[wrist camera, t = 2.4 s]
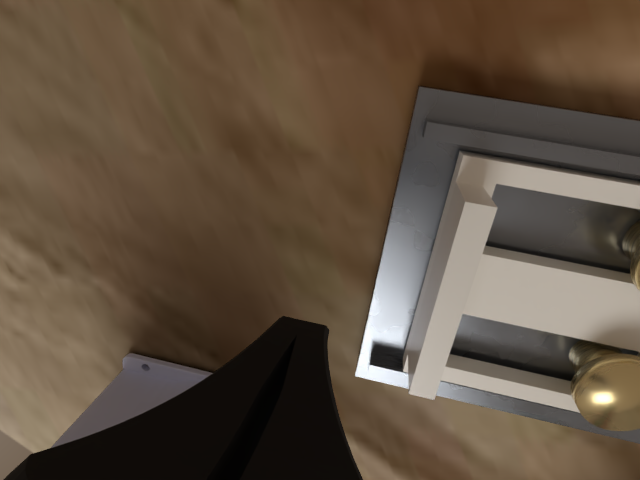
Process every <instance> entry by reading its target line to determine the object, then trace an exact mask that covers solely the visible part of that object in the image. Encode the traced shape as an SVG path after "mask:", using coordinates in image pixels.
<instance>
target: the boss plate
mask: <svg viewBox="0 0 640 480" xmlns="http://www.w3.org/2000/svg"><path fill="white" fill-rule="evenodd" d="M460 151H466V152H472V153H478V154H484V155H490V156H495V157H501V158H507V159H513V160H519V161H525V162H530V163H536V164H542V165H548V166H554V167H560V168H565V169H571V170H577V171H583V172H589V173H595V174H600V175H606V176H612V177H618V178H624V179H630V180H635V181H640V120H635V119H629V118H622V117H616V116H610V115H603V114H597V113H590V112H584V111H578V110H571V109H565V108H558V107H552V106H546V105H539V104H533V103H526V102H520V101H514V100H507V99H501V98H494V97H488V96H482V95H475V94H469V93H462V92H456V91H450V90H443V89H437V88H430V87H424V86H418V89H417V94H416V98H415V103H414V107H413V112H412V116H411V121H410V126H409V130H408V135H407V139H406V144H405V148H404V153H403V157H402V162H401V166H400V171H399V175H398V180H397V184H396V189H395V193H394V198H393V203H392V207H391V212H390V216H389V221H388V225H387V230H386V234H385V239H384V243H383V248H382V252H381V257H380V261H379V266H378V271H377V275H376V280H375V284H374V289H373V293H372V298H371V302H370V307H369V311H368V316H367V320H366V325H365V329H364V334H363V338H362V343H361V348H360V352H359V357H358V361H357V368H356V374H355V376H357V377H361V378H365V379H370V380H374V381H378V382H382V383H386V384H391V385H395V386H399V387H403V388H408V373H407V372H403V355H404V352H405V348H406V345H407V341H408V337H409V334H410V330H411V326H412V323H413V319H414V315H415V312H416V308H417V304H418V301H419V297H420V294H421V290H422V286H423V283H424V279H425V275H426V272H427V268H428V264H429V261H430V257H431V254H432V250H433V246H434V243H435V239H436V235H437V232H438V228H439V224H440V221H441V217H442V214H443V210H444V206H445V203H446V199H447V195H448V192H449V188H450V184H451V181H452V177H453V174H454V170H455V166H456V163H457V159H458V155H459V152H460ZM491 199H492V200H493V202H494V203H495V205H496V206H497V207H498V208H497V211H496V214H495V217H494V220H493V223H492V226H491V229H490V232H489V235H488V238H487V242H486V245H485V246H490V247H495V248H500V249H505V250H510V251H515V252H521V253H526V254H531V255H536V256H541V257H546V258H551V259H556V260H562V261H567V262H572V263H577V264H582V265H587V266H592V267H597V268H602V269H608V270H613V271H618V272H623V273H628V274H631V278H632V281H633V283H634V285H635V286H636V288H637V289H638V290H639V291H640V209H635V208H629V207H624V206H618V205H612V204H607V203H601V202H596V201H590V200H584V199H579V198H573V197H568V196H562V195H556V194H551V193H545V192H540V191H534V190H528V189H523V188H517V187H512V186H506V185H500V184H496V186H495V189H494V192H493V195H492V198H491ZM638 353H639V352H638V351H633V350H629V349H624V348H619V347H615V346H610V345H605V344H601V343H596V342H591V341H587V340H582V339H577V338H573V337H568V336H563V335H559V334H554V333H549V332H545V331H540V330H535V329H531V328H526V327H521V326H517V325H512V324H507V323H503V322H498V321H494V320H489V319H484V318H480V317H475V316H470V315H466V314H462V317H461V320H460V323H459V326H458V329H457V332H456V335H455V339H454V342H453V345H452V348H451V351H450V354H452V355H457V356H461V357H465V358H470V359H474V360H479V361H483V362H488V363H492V364H496V365H501V366H505V367H510V368H514V369H519V370H523V371H527V372H532V373H536V374H541V375H545V376H550V377H554V378H558V379H563V380H567V381H571V385H570V391H571V395H572V398H573V400H574V402H575V404H576V406H577V408H578V410H579V411H580V413H579V412H574V411H570V410H566V409H561V408H557V407H553V406H549V405H544V404H540V403H536V402H531V401H527V400H523V399H519V398H514V397H510V396H506V395H501V394H497V393H493V392H489V391H484V390H480V389H476V388H471V387H467V386H463V385H459V384H454V383H450V382H446V381H440V384H439V387H438V390H437V393H436V395H437V396H441V397H445V398H450V399H454V400H458V401H462V402H467V403H471V404H475V405H479V406H483V407H488V408H492V409H496V410H500V411H504V412H509V413H513V414H517V415H521V416H525V417H530V418H534V419H538V420H542V421H547V422H551V423H555V424H559V425H563V426H568V427H572V428H576V429H580V430H584V431H589V432H593V433H597V434H601V435H605V436H610V437H614V438H618V439H622V440H627V441H631V442H635V443H639V444H640V357H638V356H637V354H638ZM408 389H409V388H408Z"/></svg>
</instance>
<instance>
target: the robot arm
mask: <svg viewBox="0 0 640 480" xmlns="http://www.w3.org/2000/svg"><path fill="white" fill-rule="evenodd" d="M328 335H329V329H328V328H327V326H325V325H321V324H316V323H312V322H307V321H303V320H299V319H294V318H290V317H285V316H283V317H281V318H279V319H278V320H277V321H276V322H275V323H274V324H273V325H272V326H271V327H270V328H269V329H268V330H267V331H266V332H264V333H263V334H262V335H261V336H260V337H259V338H258V339H257V340H255V341H254V342H253V343H252V344H251V345H249V346H248V347H247V348H246V349H244V350H243V351H242V352H241V353H240V354H238V355H237V356H236V357H235V358H233V359H232V360H231V361H229V362H228V363H226V364H225V365H224V366H222V367H221V368H219V369H218V370H217V371H215V372H214V373H211V372H207V371H203V370H199V369H195V368H191V367H186V366H182V365H178V364H174V363H170V362H166V361H162V360H158V359H154V358H150V357H146V356H142V355H138V354H134V353H129V354H127V355H126V356H125V357H124V358H123V370H122V371H121V372H120V373H119V374H118V376H117V377H116V378H115V379H114V380H113V381H112V382H111V383H110V384H109V385H108V386H107V387H106V388H105V390H104V391H103V392H102V393H101V394H100V395H99V396H98V397H97V398H96V399H95V400H94V401H93V403H92V404H91V405H90V406H89V407H88V408H87V409H86V410H85V411H84V412H83V413H82V414H81V415H80V417H79V418H78V419H77V420H76V421H75V422H74V423H73V424H72V425H71V426H70V427H69V428H68V429H67V431H66V432H65V433H64V434H63V435H62V436H61V437H60V438H59V439H58V440H57V441H56V442H55V444H54V445H53V446H52V447H51V448H50V449H47V450H44V451H40V452H37V453H34V454H31V455H29V456H28V457H27V458H26V459H25V460H24V461H23V462H22V463H21V464H20V465H19V466H18V467H16V468H15V469H14V470H13V471H12V472H11V473H10V474H9V475H8V476H7V477H6V478H5V479H4V480H363V479H362V476H361V474H360V472H359V470H358V467H357V465H356V463H355V460H354V458H353V456H352V453H351V450H350V447H349V445H348V442H347V439H346V436H345V433H344V430H343V427H342V424H341V421H340V417H339V414H338V410H337V406H336V402H335V398H334V393H333V389H332V384H331V377H330V371H329V364H328V351H327V341H328ZM147 365H148V366H147Z"/></svg>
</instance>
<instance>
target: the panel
mask: <svg viewBox="0 0 640 480" xmlns="http://www.w3.org/2000/svg"><path fill="white" fill-rule="evenodd" d="M496 184H500V185H506V186H512V187H517V188H523V189H528V190H534V191H540V192H545V193H551V194H556V195H562V196H568V197H573V198H579V199H584V200H590V201H596V202H601V203H607V204H612V205H618V206H624V207H629V208H635V209H640V181H635V180H630V179H624V178H618V177H612V176H606V175H600V174H595V173H589V172H583V171H577V170H571V169H565V168H560V167H554V166H548V165H542V164H536V163H530V162H525V161H519V160H513V159H507V158H501V157H495V156H490V155H484V154H478V153H472V152H466V151H460V152H459V155H458V159H457V163H456V166H455V170H454V174H453V177H452V181H451V184H450V188H449V192H448V195H447V199H446V203H445V206H444V210H443V214H442V217H441V221H440V224H439V228H438V232H437V235H436V239H435V243H434V246H433V250H432V254H431V257H430V261H429V264H428V268H427V272H426V275H425V279H424V283H423V286H422V290H421V294H420V297H419V301H418V304H417V308H416V312H415V315H414V319H413V323H412V326H411V330H410V334H409V337H408V341H407V345H406V348H405V352H404V355H403V372H407V373H408V388H409V394H411V395H415V396H420V397H424V398H428V399H432V400H434V399H435V396H436V393H437V390H438V387H439V384H440V381H446V382H450V383H454V384H459V385H463V386H467V387H471V388H476V389H480V390H484V391H489V392H493V393H497V394H501V395H506V396H510V397H514V398H519V399H523V400H527V401H531V402H536V403H540V404H544V405H549V406H553V407H557V408H561V409H566V410H570V411H574V412H579V413H580V411H579V410H578V408H577V406H576V404H575V402H574V400H573V398H572V395H571V391H570V385H571V381H567V380H563V379H558V378H554V377H550V376H545V375H541V374H536V373H532V372H527V371H523V370H519V369H514V368H510V367H505V366H501V365H496V364H492V363H488V362H483V361H479V360H474V359H470V358H465V357H461V356H457V355H452V354H450V351H451V348H452V345H453V342H454V339H455V335H456V332H457V329H458V326H459V323H460V320H461V317H462V314H466V315H470V316H475V317H480V318H484V319H489V320H494V321H498V322H503V323H507V324H512V325H517V326H521V327H526V328H531V329H535V330H540V331H545V332H549V333H554V334H559V335H563V336H568V337H573V338H577V339H582V340H587V341H591V342H596V343H601V344H605V345H610V346H615V347H619V348H624V349H629V350H633V351H638V352H639V353H638V354H637V356H638V357H640V291H639V290H638V289H637V288H636V286H635V285H634V283H633V281H632V278H631V274H628V273H623V272H618V271H613V270H608V269H602V268H597V267H592V266H587V265H582V264H577V263H572V262H567V261H562V260H556V259H551V258H546V257H541V256H536V255H531V254H526V253H521V252H515V251H510V250H505V249H500V248H495V247H490V246H485V245H486V242H487V238H488V235H489V232H490V229H491V226H492V223H493V220H494V217H495V214H496V211H497V208H498V207H497V206H496V205H495V203H494V202H493V200H492V199H491V198H492V195H493V192H494V189H495V186H496Z"/></svg>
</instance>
